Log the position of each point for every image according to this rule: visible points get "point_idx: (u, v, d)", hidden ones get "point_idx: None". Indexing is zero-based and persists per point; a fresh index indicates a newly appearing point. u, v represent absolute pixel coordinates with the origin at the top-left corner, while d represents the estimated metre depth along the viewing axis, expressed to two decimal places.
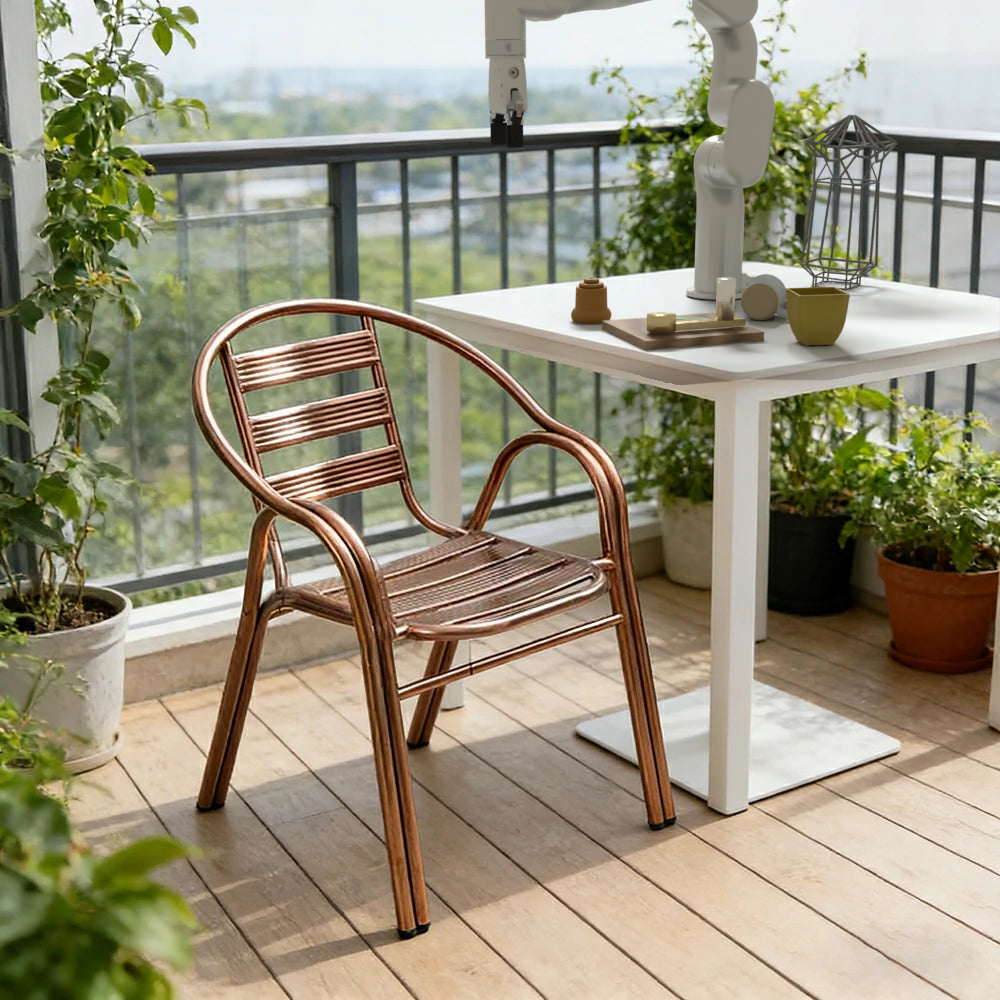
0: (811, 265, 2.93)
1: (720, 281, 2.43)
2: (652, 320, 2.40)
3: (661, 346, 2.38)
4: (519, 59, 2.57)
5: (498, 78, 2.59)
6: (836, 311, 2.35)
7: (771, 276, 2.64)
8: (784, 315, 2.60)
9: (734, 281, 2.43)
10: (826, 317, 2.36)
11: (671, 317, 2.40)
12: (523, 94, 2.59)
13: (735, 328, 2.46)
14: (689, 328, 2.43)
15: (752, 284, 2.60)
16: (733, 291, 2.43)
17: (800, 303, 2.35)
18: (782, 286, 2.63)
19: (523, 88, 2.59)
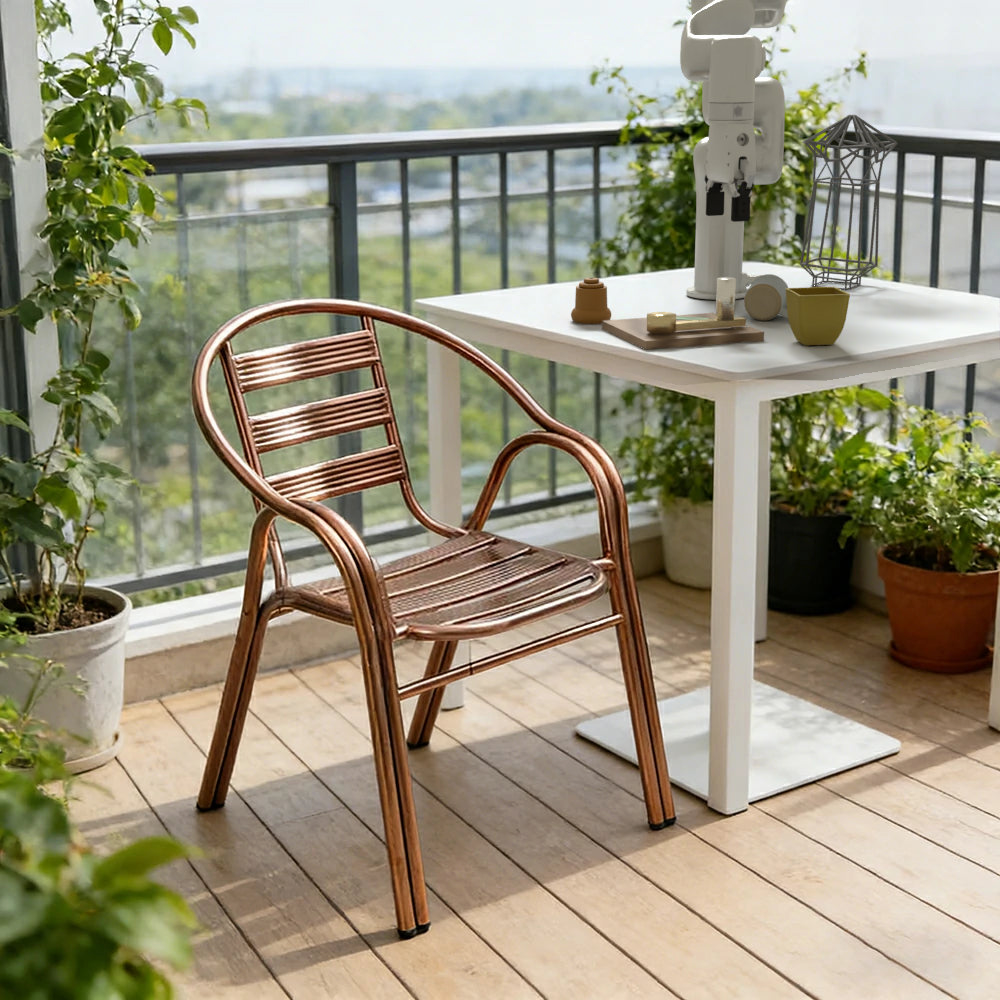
0: (811, 265, 2.93)
1: (720, 281, 2.43)
2: (652, 320, 2.40)
3: (661, 346, 2.38)
4: (749, 125, 2.32)
5: (724, 145, 2.34)
6: (836, 311, 2.35)
7: (774, 276, 2.63)
8: (787, 316, 2.60)
9: (734, 281, 2.43)
10: (826, 317, 2.36)
11: (671, 317, 2.40)
12: (752, 163, 2.34)
13: (735, 328, 2.46)
14: (689, 328, 2.43)
15: (755, 284, 2.60)
16: (733, 291, 2.43)
17: (800, 303, 2.35)
18: (785, 286, 2.63)
19: (752, 156, 2.33)
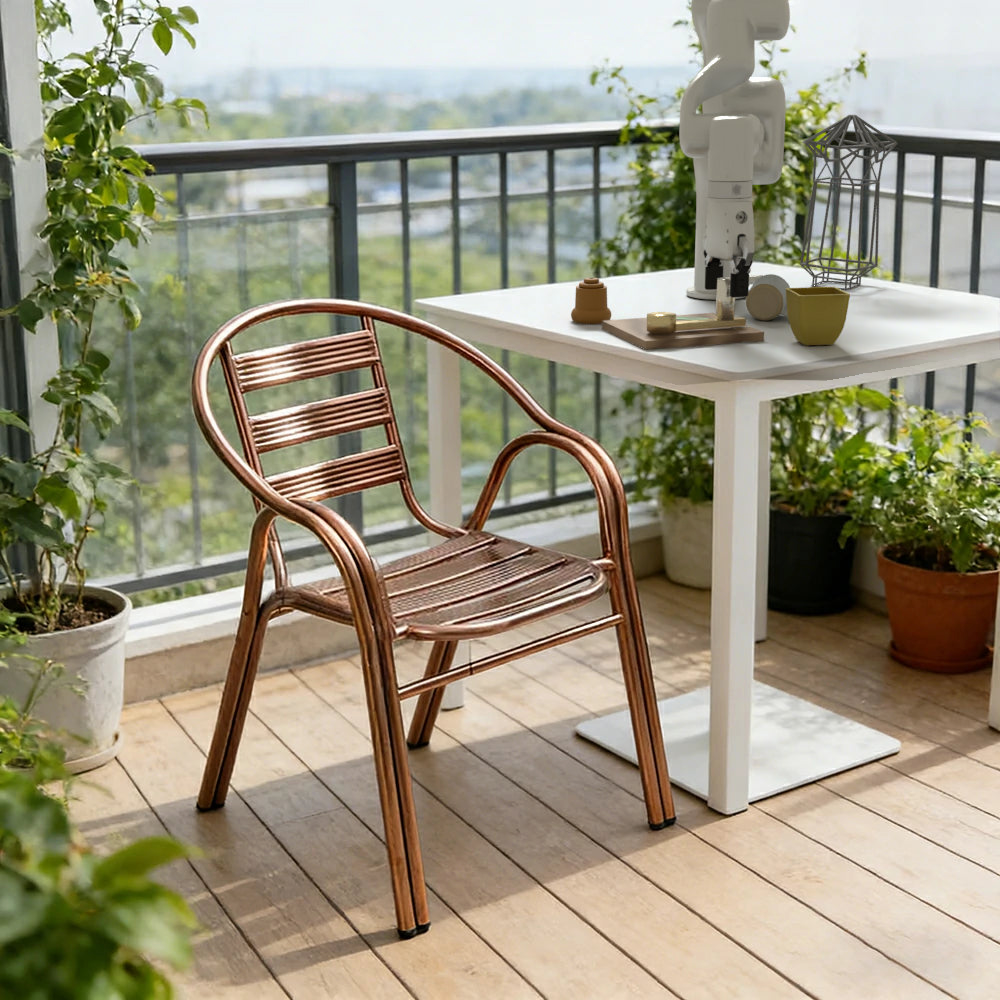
0: (811, 265, 2.93)
1: (720, 281, 2.43)
2: (652, 320, 2.40)
3: (661, 346, 2.38)
4: (747, 203, 2.36)
5: (723, 222, 2.37)
6: (836, 311, 2.35)
7: (776, 276, 2.63)
8: None
9: None
10: (826, 317, 2.36)
11: (671, 317, 2.40)
12: (750, 240, 2.37)
13: (735, 328, 2.46)
14: (689, 328, 2.43)
15: (757, 284, 2.60)
16: None
17: (800, 303, 2.35)
18: (787, 286, 2.63)
19: (751, 234, 2.37)
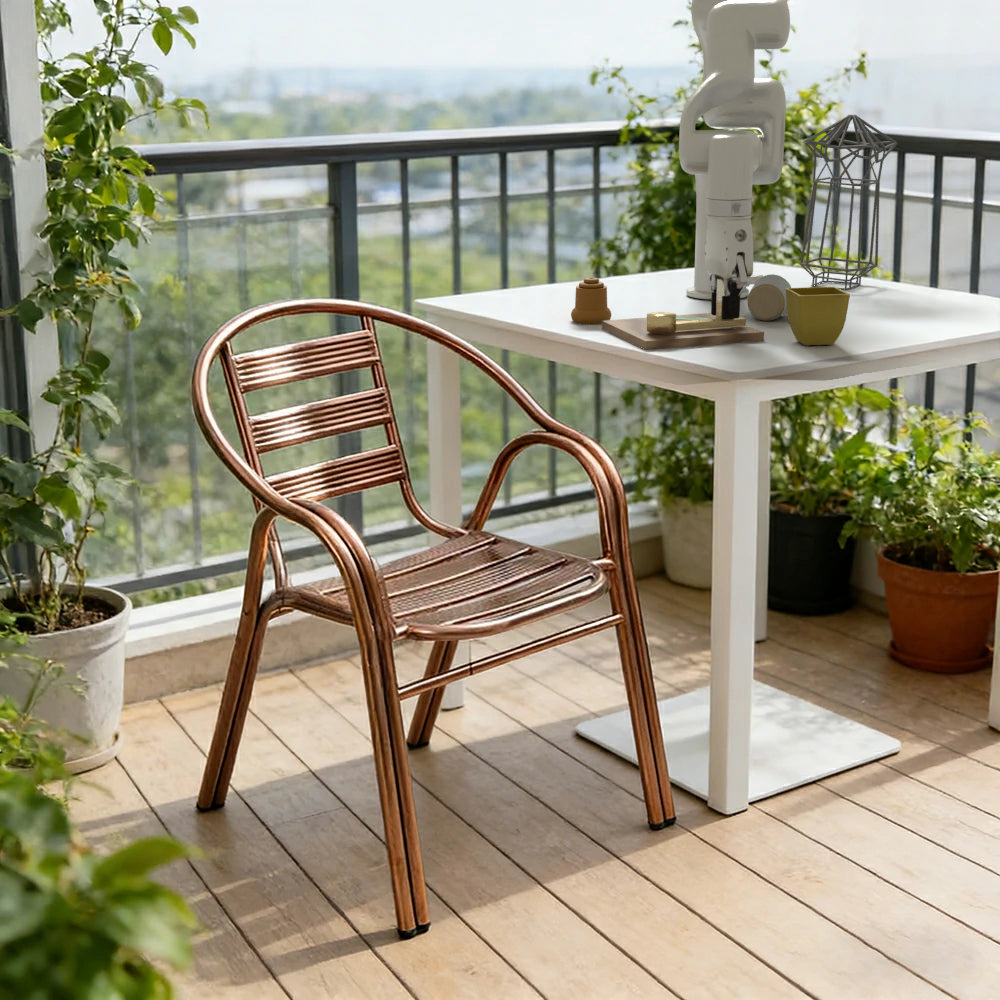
0: (811, 265, 2.93)
1: (720, 281, 2.43)
2: (652, 320, 2.40)
3: (661, 346, 2.38)
4: (747, 221, 2.37)
5: (722, 240, 2.38)
6: (836, 311, 2.35)
7: (777, 276, 2.63)
8: None
9: (734, 281, 2.43)
10: (826, 317, 2.36)
11: (671, 317, 2.40)
12: (750, 258, 2.38)
13: (735, 328, 2.46)
14: (689, 328, 2.43)
15: (758, 284, 2.59)
16: None
17: (800, 303, 2.35)
18: (788, 287, 2.63)
19: (750, 252, 2.38)
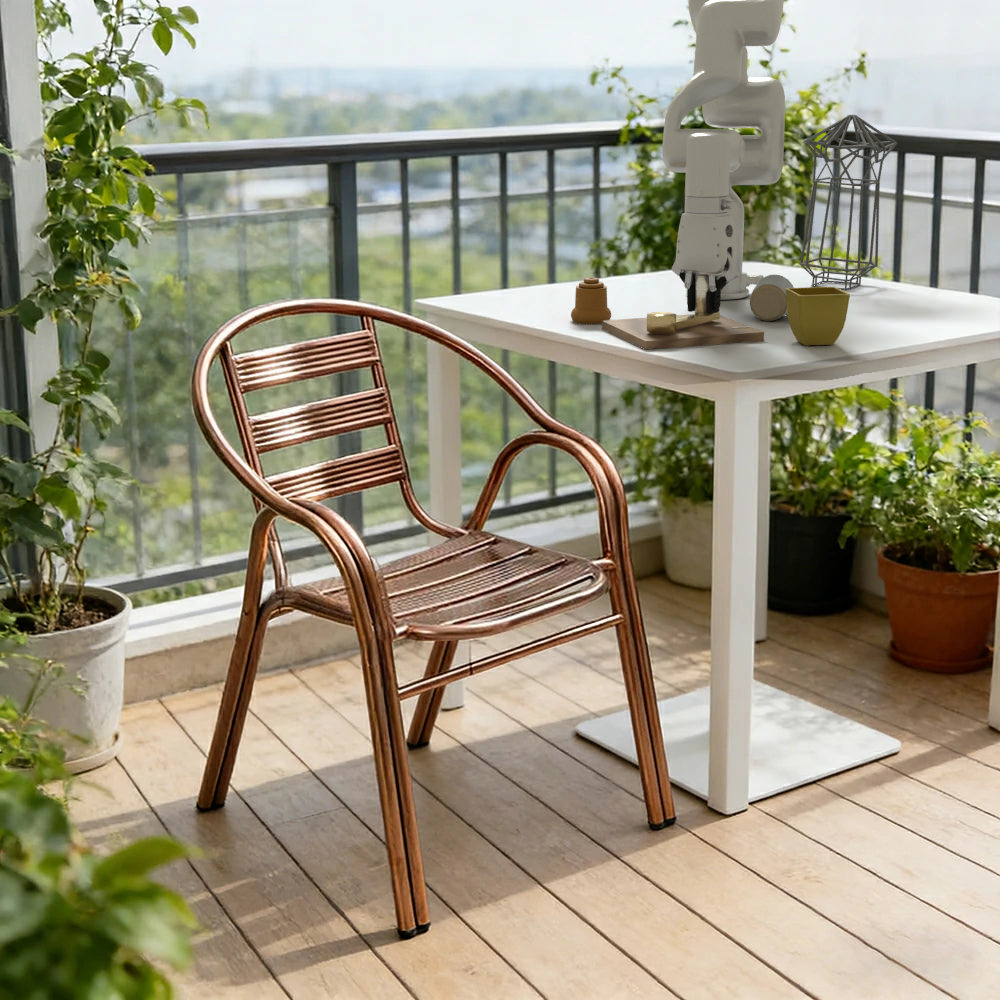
0: (811, 265, 2.93)
1: (702, 277, 2.47)
2: (659, 321, 2.40)
3: (661, 346, 2.38)
4: (731, 216, 2.43)
5: (711, 237, 2.43)
6: (836, 311, 2.35)
7: (779, 276, 2.63)
8: None
9: None
10: (826, 317, 2.36)
11: (675, 316, 2.41)
12: (735, 252, 2.45)
13: (735, 328, 2.46)
14: (683, 326, 2.45)
15: (761, 284, 2.59)
16: None
17: (800, 303, 2.35)
18: (791, 287, 2.62)
19: (735, 246, 2.45)
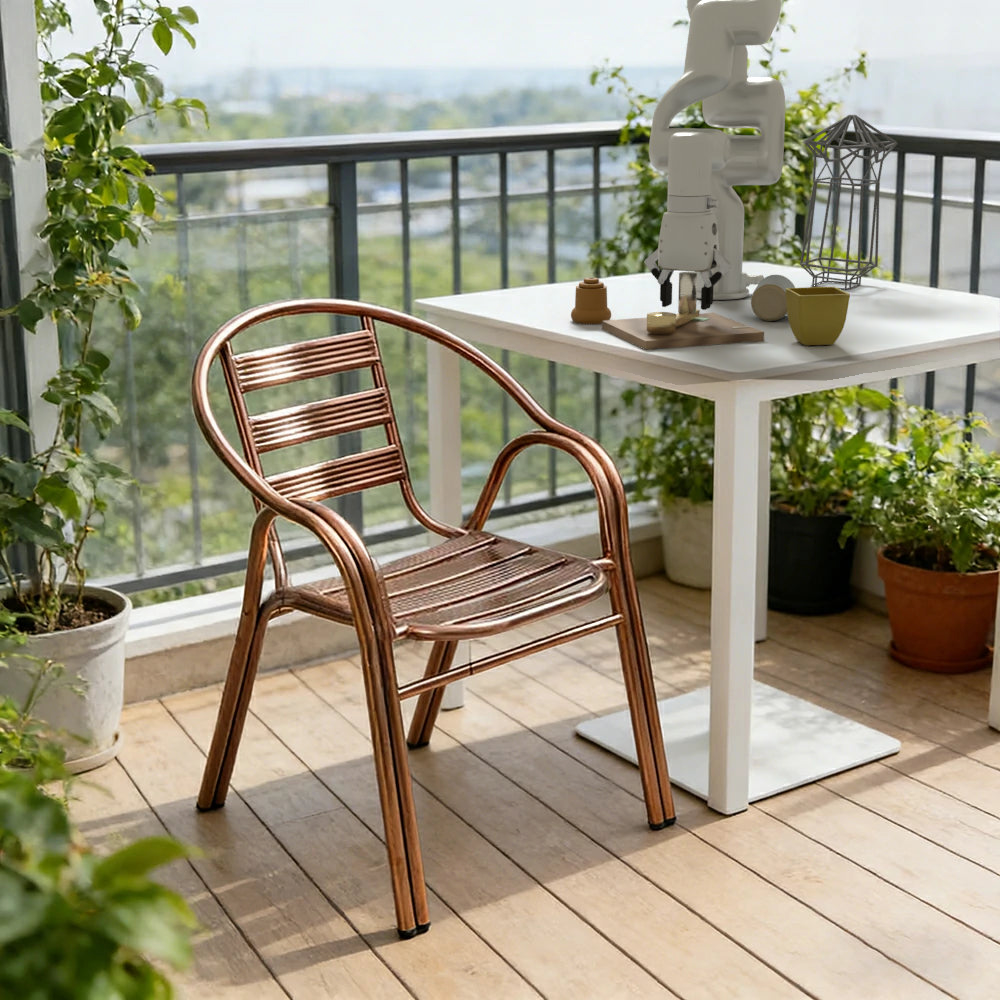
0: (811, 265, 2.93)
1: (688, 276, 2.49)
2: (663, 321, 2.40)
3: (661, 346, 2.38)
4: (715, 215, 2.46)
5: (698, 235, 2.45)
6: (836, 311, 2.35)
7: (781, 277, 2.63)
8: None
9: (696, 274, 2.51)
10: (826, 317, 2.36)
11: (676, 315, 2.42)
12: (718, 250, 2.48)
13: (735, 328, 2.46)
14: (677, 325, 2.46)
15: (762, 285, 2.59)
16: (696, 284, 2.51)
17: (800, 303, 2.35)
18: (792, 287, 2.62)
19: (718, 244, 2.48)
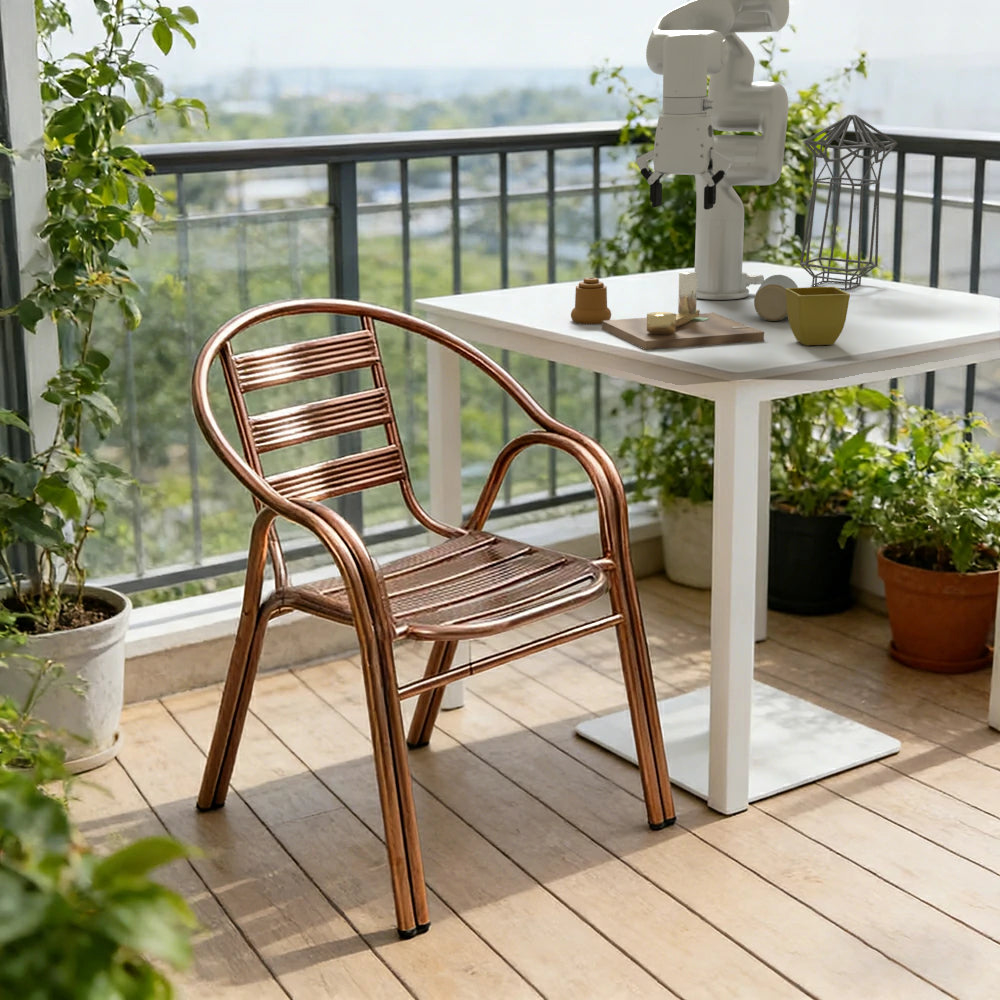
0: (811, 265, 2.93)
1: (688, 276, 2.49)
2: (663, 321, 2.40)
3: (661, 346, 2.38)
4: (710, 117, 2.45)
5: (694, 137, 2.44)
6: (836, 311, 2.35)
7: (784, 277, 2.63)
8: None
9: (696, 274, 2.51)
10: (826, 317, 2.36)
11: (676, 315, 2.42)
12: None
13: (735, 328, 2.46)
14: (677, 325, 2.46)
15: (765, 285, 2.59)
16: (696, 284, 2.51)
17: (800, 303, 2.35)
18: (795, 287, 2.62)
19: (714, 146, 2.47)
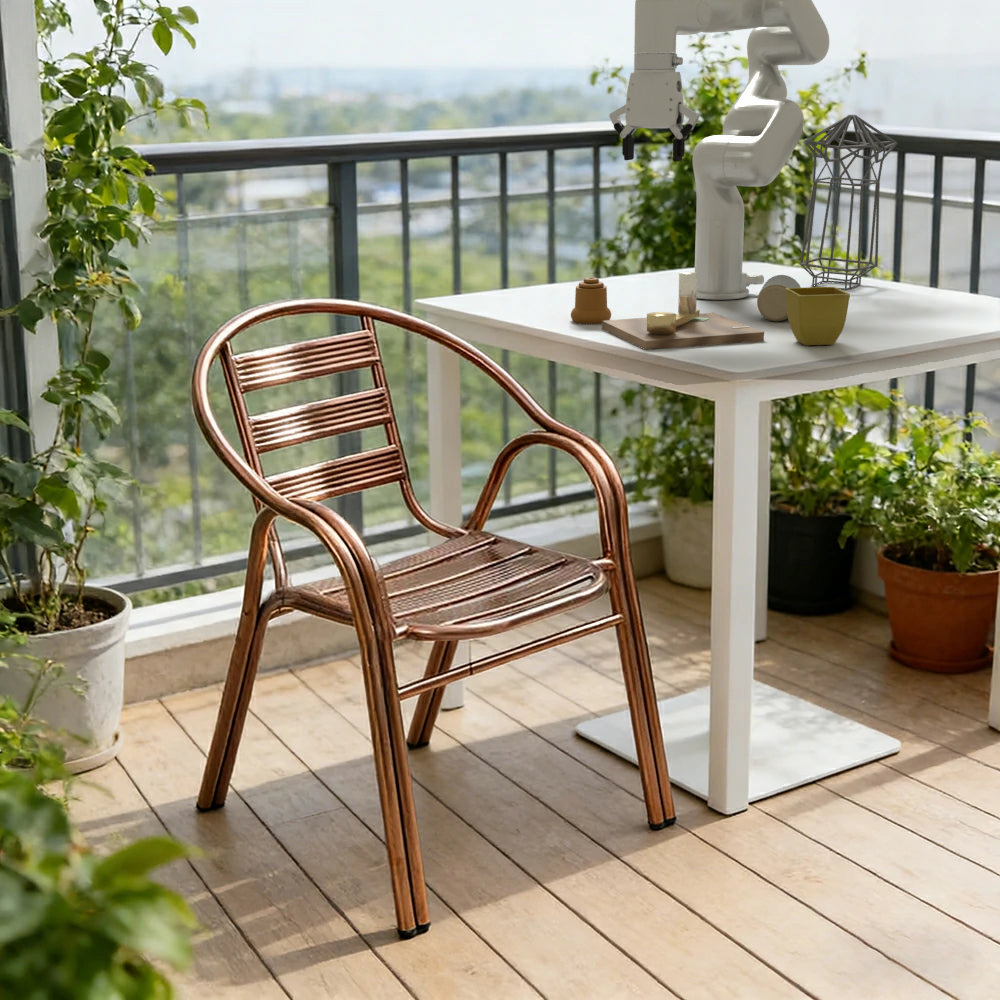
0: (811, 265, 2.93)
1: (688, 276, 2.49)
2: (663, 321, 2.40)
3: (661, 346, 2.38)
4: (679, 73, 2.57)
5: (664, 92, 2.56)
6: (836, 311, 2.35)
7: (787, 277, 2.63)
8: None
9: (696, 274, 2.51)
10: (826, 317, 2.36)
11: (676, 315, 2.42)
12: None
13: (735, 328, 2.46)
14: (677, 325, 2.46)
15: (768, 285, 2.59)
16: (696, 284, 2.51)
17: (800, 303, 2.35)
18: (798, 287, 2.62)
19: None
